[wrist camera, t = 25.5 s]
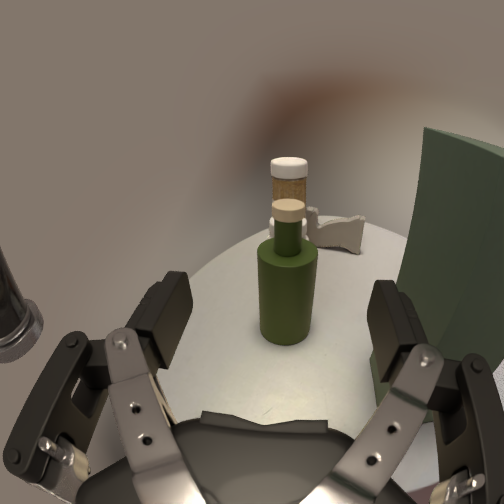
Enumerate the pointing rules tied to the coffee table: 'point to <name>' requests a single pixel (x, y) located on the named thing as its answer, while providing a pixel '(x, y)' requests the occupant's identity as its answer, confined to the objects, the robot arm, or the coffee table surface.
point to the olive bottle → (286, 276)
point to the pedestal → (456, 250)
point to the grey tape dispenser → (335, 231)
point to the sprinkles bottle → (289, 179)
